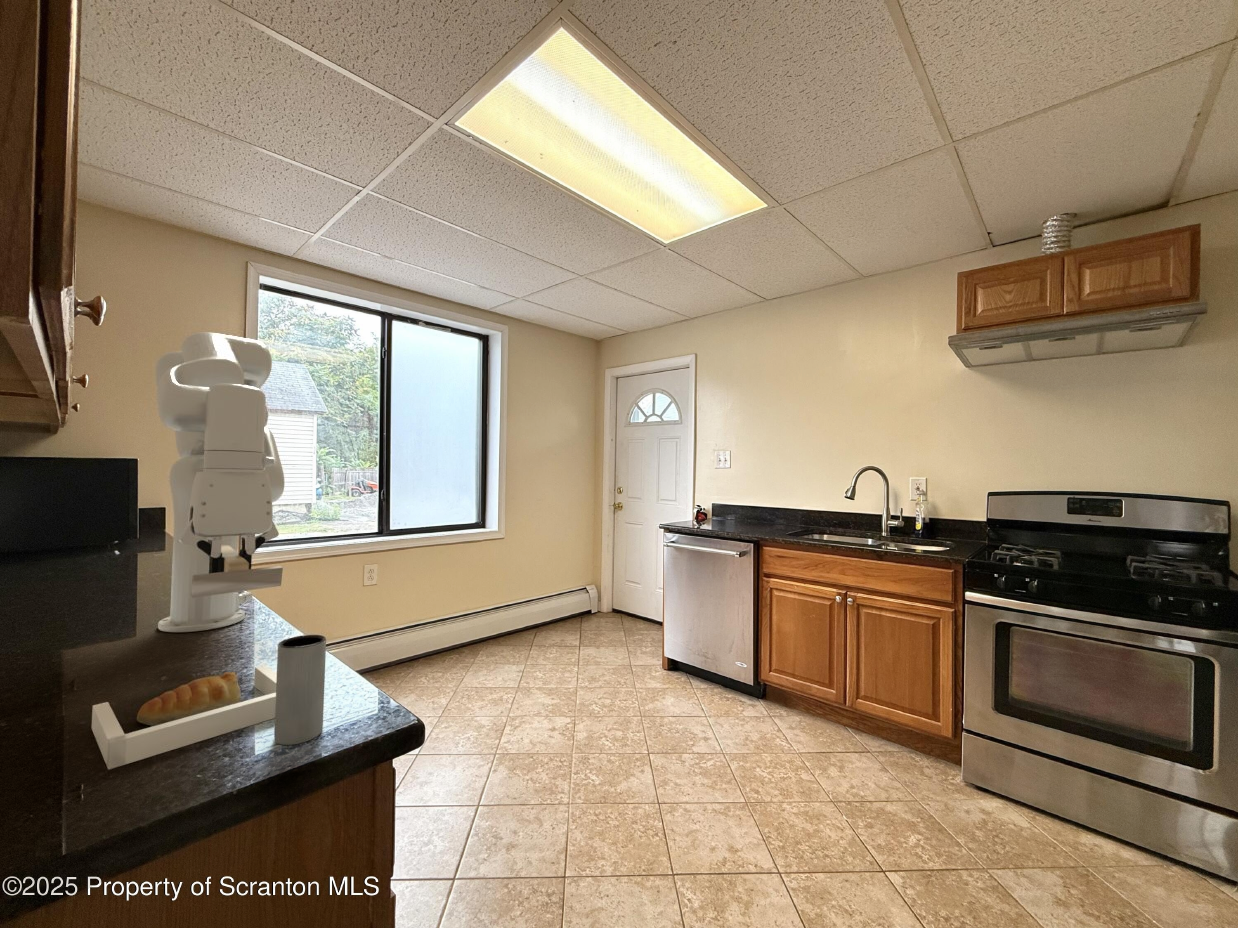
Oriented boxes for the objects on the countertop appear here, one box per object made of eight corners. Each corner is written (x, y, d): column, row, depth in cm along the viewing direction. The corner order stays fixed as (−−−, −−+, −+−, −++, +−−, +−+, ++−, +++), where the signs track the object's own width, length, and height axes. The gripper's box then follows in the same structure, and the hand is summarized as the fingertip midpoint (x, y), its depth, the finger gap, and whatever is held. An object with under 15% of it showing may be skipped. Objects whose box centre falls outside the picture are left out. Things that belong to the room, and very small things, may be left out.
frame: (91, 728, 56) (92, 705, 56) (264, 683, 69) (265, 664, 69) (108, 769, 49) (109, 743, 49) (299, 710, 61) (299, 689, 61)
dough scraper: (173, 573, 79) (175, 548, 79) (256, 565, 88) (258, 542, 88) (192, 597, 72) (194, 570, 72) (281, 585, 81) (283, 561, 80)
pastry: (141, 737, 55) (142, 702, 55) (132, 718, 59) (133, 685, 59) (245, 708, 62) (246, 676, 62) (230, 692, 66) (231, 663, 67)
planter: (266, 736, 55) (270, 641, 55) (310, 720, 59) (314, 631, 59) (285, 750, 53) (289, 650, 53) (330, 732, 56) (334, 639, 57)
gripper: (283, 465, 88) (280, 571, 88) (161, 462, 76) (156, 585, 75) (300, 465, 84) (296, 576, 83) (173, 461, 71) (167, 593, 71)
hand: (230, 579), depth 79 cm, fingers closed on dough scraper, 2 cm apart
